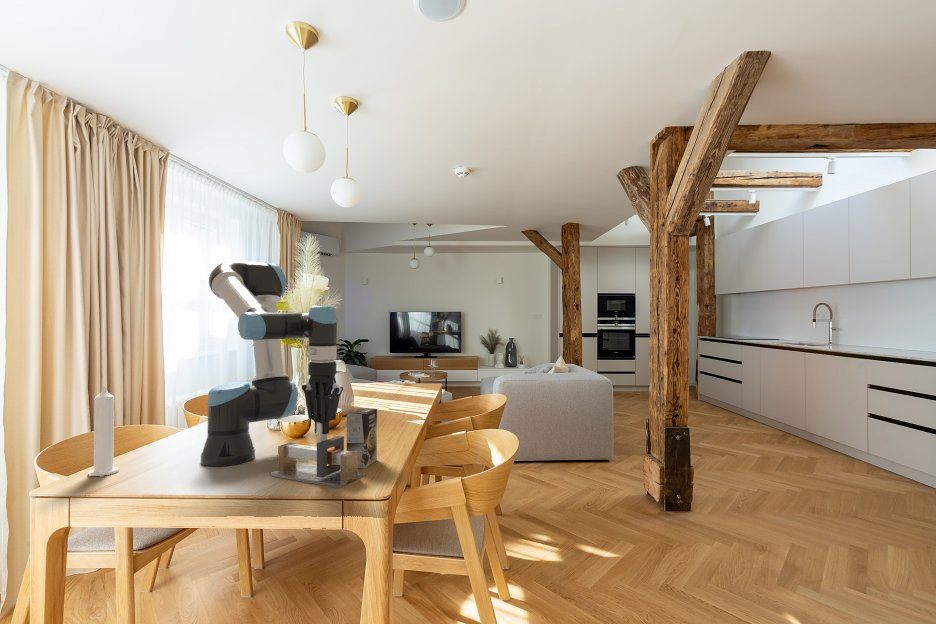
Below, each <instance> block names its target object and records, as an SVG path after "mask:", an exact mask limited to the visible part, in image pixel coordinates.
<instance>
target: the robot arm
mask: <svg viewBox="0 0 936 624" xmlns="http://www.w3.org/2000/svg"><path fill="white" fill-rule="evenodd" d="M208 286H209V288H210V290H211V292H212V293H213V294H214V296H216V298H218V299H221V300H223V301H224V303H225V304H226V305H227V306H228V307H229V309H230V310H231V311H232V312H233V313H234V314H235V316H236V317H237V319H238V322H237V329H238V332H239V336H240V338H242V339H243V340H249V341H250V340H251V341H252V343H253V355H254V364H255V376H254V378H253V379H252V380H251V385H250V383H249V382H248V381H237V382H229V383H225V384H221V385H217V386H214V387H212V388H211V389H210V390H209V391H208V394H207V403H206V406H207V437H206V440H205V443H204V446H203V449H202V452H201V454H200V463H201V465H204V466H207V467H208V466H211V467H223V466H227V467H228V466H234V465H238V464H242V463H243V464H244V463H246V462H250V461H252V460H253V459H254V458H255V456H256V452H255V451H256V450H255V447H254V444H253V440H252V437H251V435H250V424H251V423H256V422H257V423H258V422H263V421H270V420H280V419H283V418H287V417H290V416H291V415H292V414H293V413H294V412H295V410H296V408H297V404H298V397H299V396H298V395H299V391H298V387H297V385H296V383H295V382H292V381H290V376H289V375H288V374H286V373H285V371H284V363H283V352H282V341H281V340H289V339H290V340H292V339H293V340H295V339H308V360H309V362H308V367H307V368H308V375H309V379H308V382H307V383H305V384H302V385H301V389H302V392H303V393H304V398H305V404H306V410H307V416H308V419H309V420H312V421H313V422H314V434H316V440H315V441H316V442H315V447H317V443H319V442H322V441H325V440H328V434H329V433H330V422H331V421H334V420H336V416H337V412H338V409H339V408H338V407H339V403H340V398H341V394H342V393H343V392H344V387H343V386H340V385H338V383H337V380H336V375H337V362H336V361H335V360H337V359H338V358H337V357H338V356H337V352H338V351H337V349H338V348H337V342H338V341H337V338H338V317H337V316H338V315H337V314H338V313H337V308H336V307H335V306H333V305H332V306H330V305H312V306H310V307H309V310H308V312H302V311H301V312H278V303H279V302H281V300H282V297H283V296H284V295H285V293H286V287H287V280H286V275H285V272H284V271H283V269H282V268H281V267H280V266H279V265H277V264H275V263H269V262H258V261H257V262H256V261H246V260H245V261H243V260H242V261H241V260H228V261H224V262H221V263H220V264H218V265H217V266H216V267H215V268H213V269H212V270H211V272H210V275H209V277H208Z"/></svg>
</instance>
